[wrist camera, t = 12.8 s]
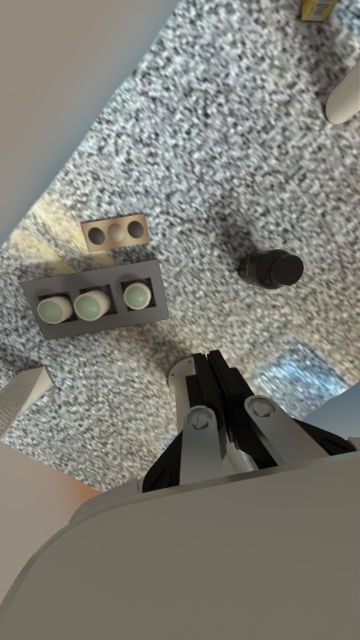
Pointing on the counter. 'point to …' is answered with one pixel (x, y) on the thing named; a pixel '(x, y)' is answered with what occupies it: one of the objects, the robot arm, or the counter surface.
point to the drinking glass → (345, 97)
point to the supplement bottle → (271, 269)
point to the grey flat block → (108, 282)
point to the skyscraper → (23, 394)
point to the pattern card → (116, 233)
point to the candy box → (316, 9)
